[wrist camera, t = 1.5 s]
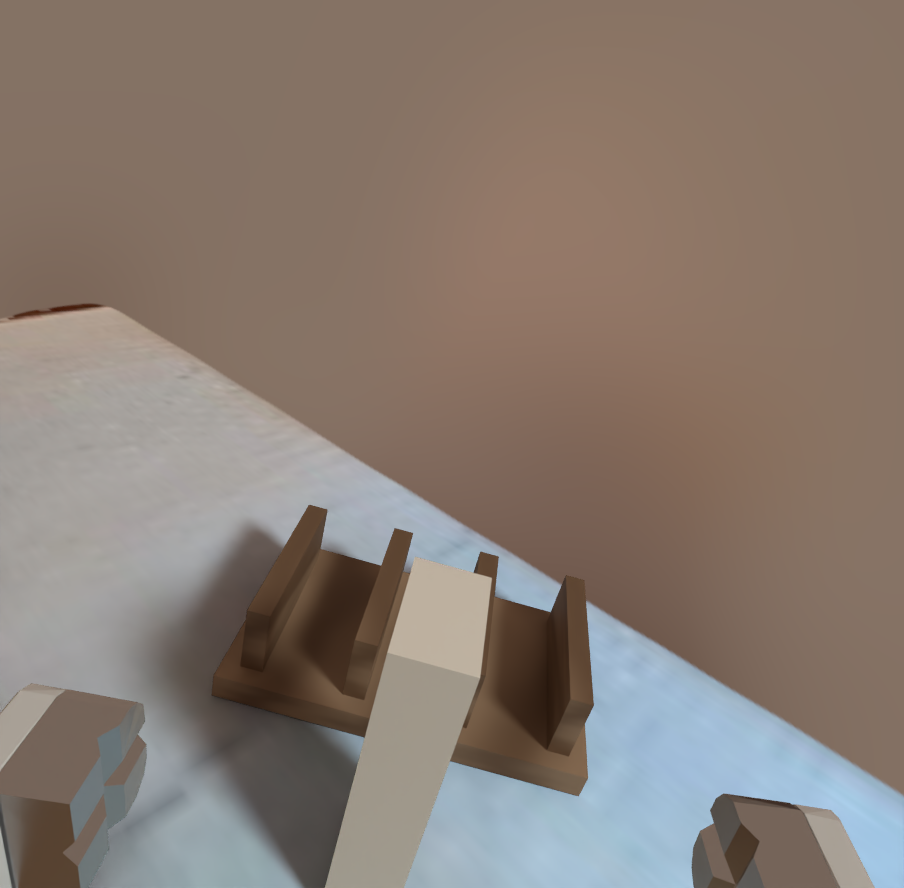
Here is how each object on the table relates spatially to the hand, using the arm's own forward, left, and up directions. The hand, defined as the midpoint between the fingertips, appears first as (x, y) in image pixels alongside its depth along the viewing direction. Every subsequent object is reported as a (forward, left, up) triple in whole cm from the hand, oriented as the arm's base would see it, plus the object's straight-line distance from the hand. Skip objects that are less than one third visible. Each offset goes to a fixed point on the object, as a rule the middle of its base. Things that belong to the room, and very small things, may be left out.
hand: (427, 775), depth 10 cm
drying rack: (0, +24, -22) cm, 33 cm away
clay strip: (0, +12, -22) cm, 25 cm away
